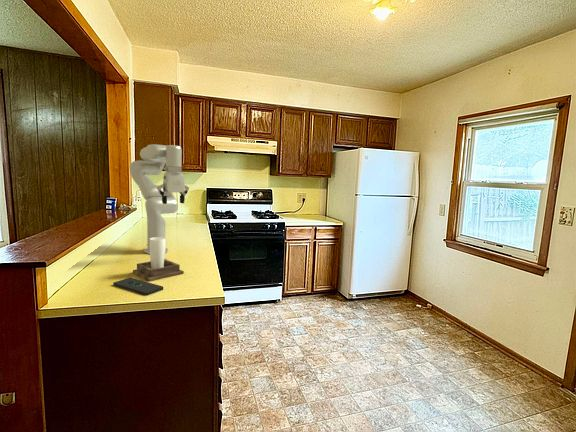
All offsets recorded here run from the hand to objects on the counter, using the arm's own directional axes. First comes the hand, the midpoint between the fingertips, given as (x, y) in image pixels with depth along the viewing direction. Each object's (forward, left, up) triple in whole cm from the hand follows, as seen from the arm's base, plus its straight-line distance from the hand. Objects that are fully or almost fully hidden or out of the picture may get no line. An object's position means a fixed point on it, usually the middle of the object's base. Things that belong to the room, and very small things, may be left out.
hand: (173, 203), depth 159 cm
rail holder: (+15, -16, -30) cm, 37 cm away
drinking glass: (+15, -16, -29) cm, 37 cm away
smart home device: (+26, -30, -31) cm, 51 cm away
